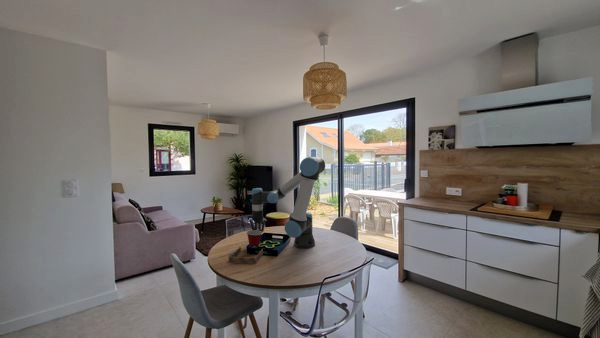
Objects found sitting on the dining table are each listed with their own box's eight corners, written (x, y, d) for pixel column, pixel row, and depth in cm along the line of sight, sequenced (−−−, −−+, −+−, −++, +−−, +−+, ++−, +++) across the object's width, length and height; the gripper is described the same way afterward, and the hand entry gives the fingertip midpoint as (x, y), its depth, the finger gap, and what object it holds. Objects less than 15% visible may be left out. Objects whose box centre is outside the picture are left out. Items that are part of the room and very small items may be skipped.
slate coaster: (237, 252, 164) (237, 251, 164) (236, 254, 160) (236, 253, 160) (231, 252, 164) (230, 251, 164) (229, 255, 159) (229, 254, 159)
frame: (263, 252, 162) (263, 248, 162) (255, 263, 146) (255, 258, 146) (239, 251, 165) (239, 247, 165) (229, 261, 149) (228, 257, 149)
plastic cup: (263, 250, 166) (263, 233, 166) (247, 252, 163) (247, 234, 162) (261, 245, 177) (261, 228, 176) (246, 246, 174) (245, 230, 173)
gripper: (267, 208, 178) (268, 240, 180) (250, 208, 181) (251, 239, 182) (264, 211, 171) (265, 244, 172) (246, 210, 173) (247, 243, 174)
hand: (258, 242), depth 177 cm, fingers closed
